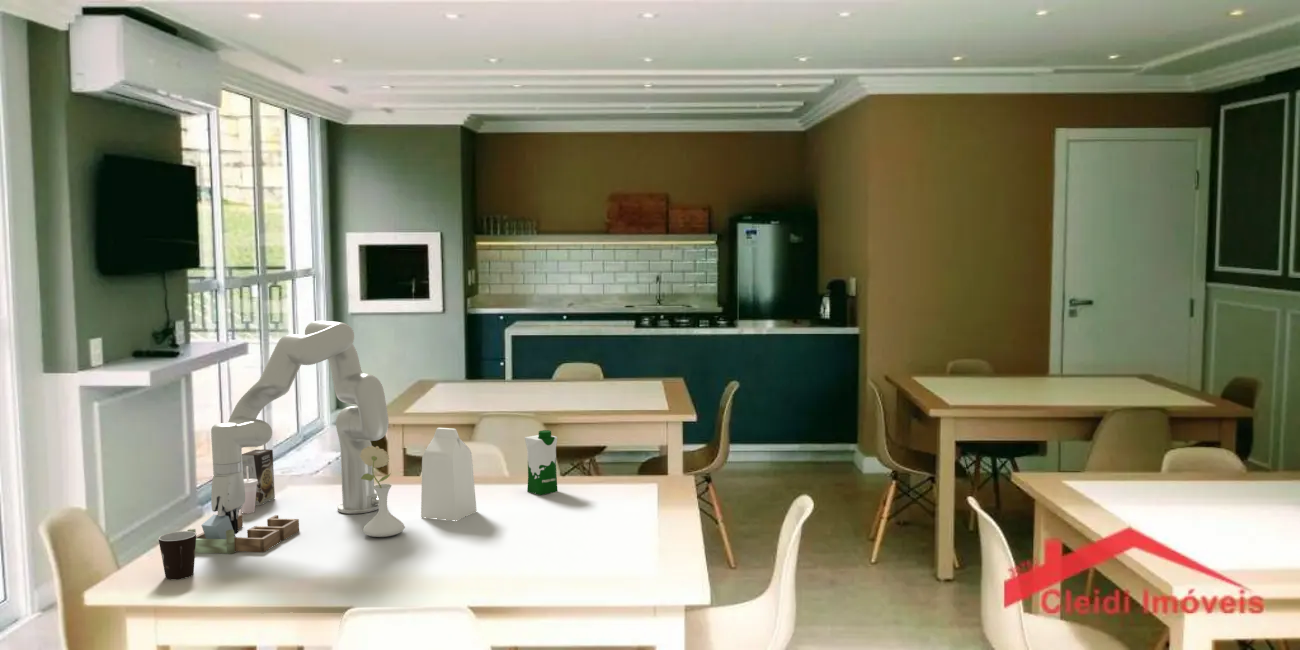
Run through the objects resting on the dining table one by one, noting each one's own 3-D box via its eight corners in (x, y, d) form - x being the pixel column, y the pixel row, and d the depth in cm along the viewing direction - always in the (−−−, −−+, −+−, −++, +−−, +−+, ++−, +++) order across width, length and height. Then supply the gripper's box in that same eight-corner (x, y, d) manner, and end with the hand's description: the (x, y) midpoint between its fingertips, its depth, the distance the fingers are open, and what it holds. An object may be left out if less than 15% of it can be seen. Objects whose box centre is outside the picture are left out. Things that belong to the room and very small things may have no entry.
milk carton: (539, 496, 339) (538, 434, 338) (523, 491, 346) (521, 430, 344) (561, 491, 345) (560, 430, 343) (544, 487, 352) (543, 426, 350)
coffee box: (260, 506, 333) (257, 454, 332) (241, 505, 335) (238, 454, 333) (275, 498, 342) (273, 449, 341) (257, 498, 344) (255, 448, 342)
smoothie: (263, 510, 328) (261, 465, 327) (249, 515, 322) (247, 469, 321) (246, 508, 330) (244, 463, 329) (232, 513, 324) (229, 468, 323)
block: (235, 537, 293) (228, 515, 290) (223, 548, 288) (216, 526, 286) (221, 535, 294) (213, 514, 292) (209, 546, 290) (201, 525, 287)
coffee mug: (168, 570, 269) (165, 531, 269) (203, 569, 270) (201, 530, 269) (150, 585, 258) (148, 545, 257) (187, 584, 259) (185, 543, 258)
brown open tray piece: (304, 527, 307) (304, 507, 307) (259, 554, 282) (258, 532, 281) (238, 526, 310) (237, 505, 310) (187, 552, 285) (185, 530, 284)
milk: (421, 517, 316) (417, 430, 314) (442, 508, 327) (439, 424, 324) (455, 521, 312) (453, 433, 309) (476, 511, 322) (474, 426, 320)
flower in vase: (413, 531, 302) (410, 443, 299) (387, 542, 291) (383, 451, 289) (376, 526, 307) (373, 440, 305) (349, 537, 297) (345, 448, 295)
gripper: (229, 462, 301) (233, 526, 302) (199, 474, 286) (203, 541, 288) (254, 462, 300) (258, 526, 301) (225, 474, 285) (229, 542, 286)
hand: (231, 533), depth 294 cm, fingers closed
